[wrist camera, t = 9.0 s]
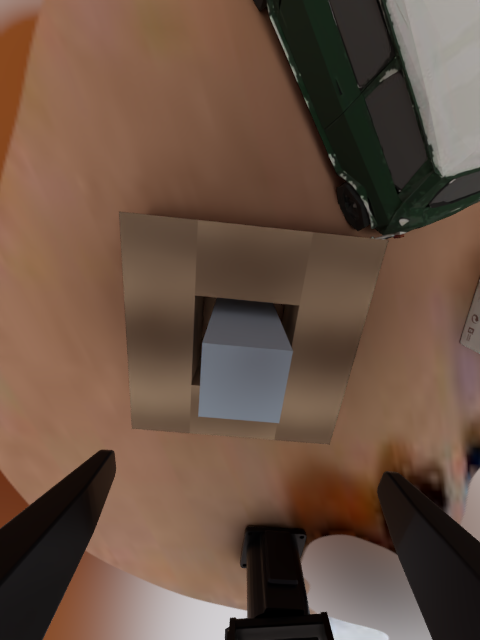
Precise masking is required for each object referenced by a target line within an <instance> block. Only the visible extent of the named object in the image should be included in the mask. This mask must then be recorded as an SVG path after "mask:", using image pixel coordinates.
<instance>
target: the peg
mask: <svg viewBox="0 0 480 640" xmlns="http://www.w3.org/2000/svg"><path fill="white" fill-rule="evenodd" d="M292 354H293V350H292V348H291V345H290V343H289V340H288V338H287V336H286V333H285V331H284V328H283V326H282V324H281V321H280V319H279V316H278V314H277V312H276V309H275V307H274V304H273V303H268V302H258V301H248V300H237V299H227V298H217V299H216V302H215V305H214V308H213V312H212V315H211V318H210V321H209V324H208V327H207V330H206V333H205V336H204V339H203V342H202V357H201V376H200V394H199V412H198V417H210V418H222V419H235V420H247V421H259V422H271V423H279V421H280V416H281V411H282V406H283V400H284V395H285V390H286V385H287V380H288V375H289V369H290V364H291V359H292Z"/></svg>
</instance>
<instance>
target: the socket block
mask: <svg viewBox="0 0 480 640" xmlns="http://www.w3.org/2000/svg"><path fill="white" fill-rule="evenodd" d="M119 219H120V236H121V253H122V270H123V287H124V303H125V320H126V337H127V354H128V371H129V388H130V404H131V421H132V429H142V430H155V431H167V432H180V433H192V434H205V435H218V436H230V437H243V438H255V439H268V440H281V441H293V442H306V443H318V444H330V442H331V438H332V435H333V431H334V428H335V424H336V421H337V418H338V414H339V411H340V407H341V404H342V400H343V397H344V393H345V390H346V386H347V383H348V379H349V376H350V372H351V369H352V365H353V362H354V358H355V355H356V351H357V348H358V344H359V341H360V337H361V334H362V330H363V327H364V323H365V320H366V317H367V313H368V310H369V306H370V303H371V299H372V296H373V292H374V289H375V285H376V282H377V278H378V275H379V271H380V268H381V264H382V261H383V257H384V254H385V250H386V247H387V243H388V240H382V239H373V238H363V237H354V236H344V235H335V234H325V233H316V232H307V231H297V230H288V229H278V228H269V227H259V226H250V225H241V224H231V223H222V222H212V221H203V220H194V219H184V218H175V217H165V216H156V215H146V214H137V213H128V212H119ZM204 296H206V297H217V298H227V299H237V300H248V301H258V302H268V303H279V304H285V307H284V313H283V319H282V326H283V328H284V331H285V333H286V336H287V338H288V340H289V343H290V345H291V348H292V350H293V354H292V359H291V364H290V369H289V375H288V380H287V385H286V390H285V395H284V400H283V406H282V411H281V416H280V421H279V423H271V422H259V421H247V420H235V419H222V418H210V417H198V412H199V394H200V376H201V357H202V356H200V355H201V336H202V317H203V297H204Z"/></svg>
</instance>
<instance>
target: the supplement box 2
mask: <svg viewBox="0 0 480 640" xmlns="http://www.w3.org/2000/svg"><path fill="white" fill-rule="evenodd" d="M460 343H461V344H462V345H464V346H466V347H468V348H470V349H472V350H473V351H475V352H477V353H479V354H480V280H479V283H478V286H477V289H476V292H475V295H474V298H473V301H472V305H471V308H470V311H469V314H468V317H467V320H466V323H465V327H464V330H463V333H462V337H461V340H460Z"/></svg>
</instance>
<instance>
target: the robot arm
mask: <svg viewBox="0 0 480 640" xmlns="http://www.w3.org/2000/svg"><path fill="white" fill-rule="evenodd" d="M115 473H116V462H115V453H114V451H113V450H100V451H98V452H97V453H96V454H94V455H93V456H92V457H90V458H89V459H88V460H87V461H85V462H84V463H83V464H82V465H80V466H79V467H78V468H77V469H75V470H74V471H73V472H71V473H70V474H69V475H68V476H66V477H65V478H64V479H63V480H61V481H60V482H59V483H57V484H56V485H55V486H54V487H52V488H51V489H50V490H49V491H47V492H46V493H45V494H44V495H42V496H41V497H40V498H38V499H37V500H36V501H35V502H33V503H32V504H31V505H30V506H28V507H27V508H26V509H25V510H23V511H22V512H21V513H19V514H18V515H17V516H16V517H14V518H13V519H12V520H11V521H9V522H8V523H7V524H5V525H4V526H3V527H2V528H0V640H43V638H44V636H45V633H46V631H47V629H48V627H49V625H50V623H51V621H52V619H53V617H54V615H55V612H56V610H57V608H58V606H59V604H60V602H61V600H62V598H63V596H64V593H65V591H66V589H67V587H68V585H69V583H70V581H71V579H72V577H73V574H74V573H75V571H76V568H77V566H78V564H79V562H80V560H81V558H82V556H83V554H84V552H85V550H86V548H87V545H88V543H89V541H90V539H91V537H92V535H93V532H94V530H95V528H96V525H97V522H98V520H99V517H100V514H101V512H102V509H103V506H104V504H105V501H106V498H107V496H108V493H109V490H110V488H111V485H112V482H113V480H114V477H115ZM377 493H378V497H379V501H380V504H381V507H382V510H383V513H384V516H385V519H386V522H387V525H388V528H389V532H390V535H391V538H392V541H393V544H394V547H395V549H396V552H397V555H398V557H399V560H400V562H401V564H402V567H403V569H404V572H405V574H406V577H407V579H408V582H409V584H410V586H411V589H412V591H413V594H414V596H415V598H416V601H417V603H418V606H419V608H420V610H421V612H422V615H423V617H424V620H425V623H426V625H427V627H428V630H429V632H430V635H431V637H432V639H433V640H480V542H479V541H478V540H477V539H475V538H474V537H473V536H472V535H471V534H470V533H468V532H467V531H466V530H465V529H464V528H463V527H461V526H460V525H459V524H458V523H457V522H456V521H454V520H453V519H452V518H451V517H450V516H449V515H447V514H446V513H445V512H444V511H443V510H442V509H440V508H439V507H438V506H437V505H436V504H435V503H433V502H432V501H431V500H430V499H429V498H427V497H426V496H425V495H424V494H423V493H422V492H420V491H419V490H418V489H417V488H416V487H415V486H413V485H412V484H411V483H410V482H409V481H408V480H406V479H405V478H404V477H403V476H402V475H401V474H399V473H397V472H389V471H386V472H384V473H383V476H382V478H381V481H380V483H379V486H378V490H377ZM305 541H306V532H305V531H304V530H293V529H278V528H264V527H247V528H246V529H245V535H244V541H243V547H242V553H241V560H240V566H241V567H242V568H247V617H248V618H245V619H236V618H230V626H229V627H228V628H227V629H225V640H334V638H333V634H332V630H331V626H330V622H329V619H328V615H327V612H321V614H310V611H309V606H308V600H307V595H306V589H305V583H304V578H303V572H302V567H301V561H300V558H301V555H302V551H303V548H304V544H305Z"/></svg>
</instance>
